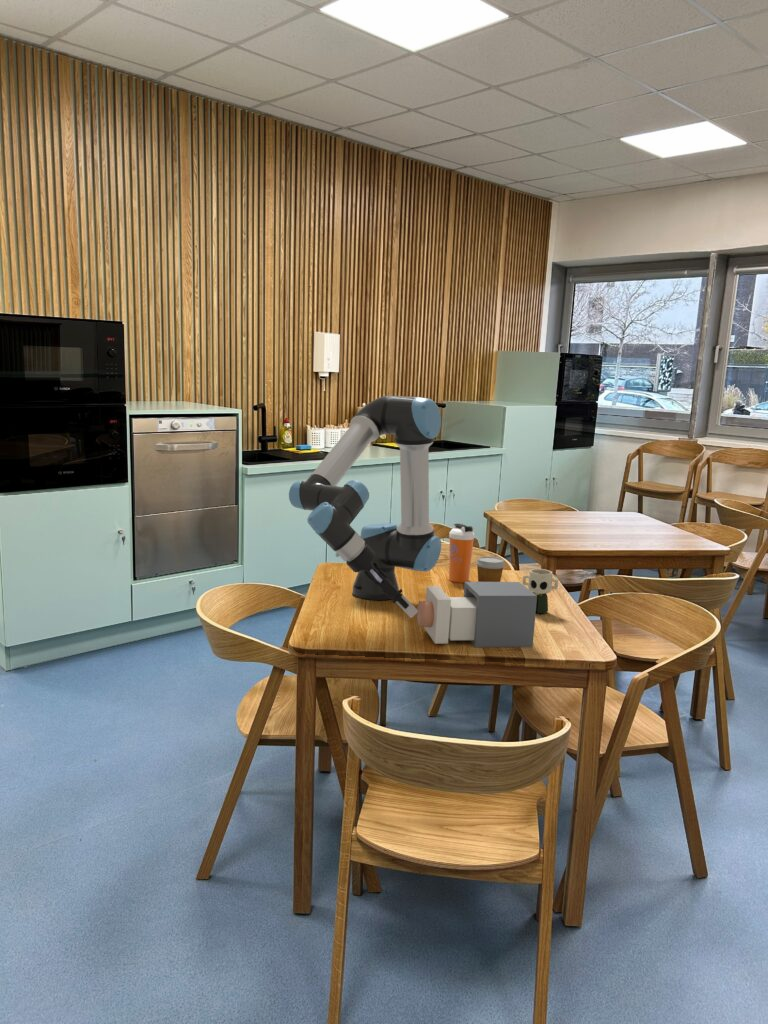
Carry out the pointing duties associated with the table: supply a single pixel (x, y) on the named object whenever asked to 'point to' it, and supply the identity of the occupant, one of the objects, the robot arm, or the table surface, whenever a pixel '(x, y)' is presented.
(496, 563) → the disposable coffee cup
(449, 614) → the white drawer
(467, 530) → the shaker bottle
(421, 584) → the table surface
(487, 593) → the block
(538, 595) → the character mug
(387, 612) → the table surface
